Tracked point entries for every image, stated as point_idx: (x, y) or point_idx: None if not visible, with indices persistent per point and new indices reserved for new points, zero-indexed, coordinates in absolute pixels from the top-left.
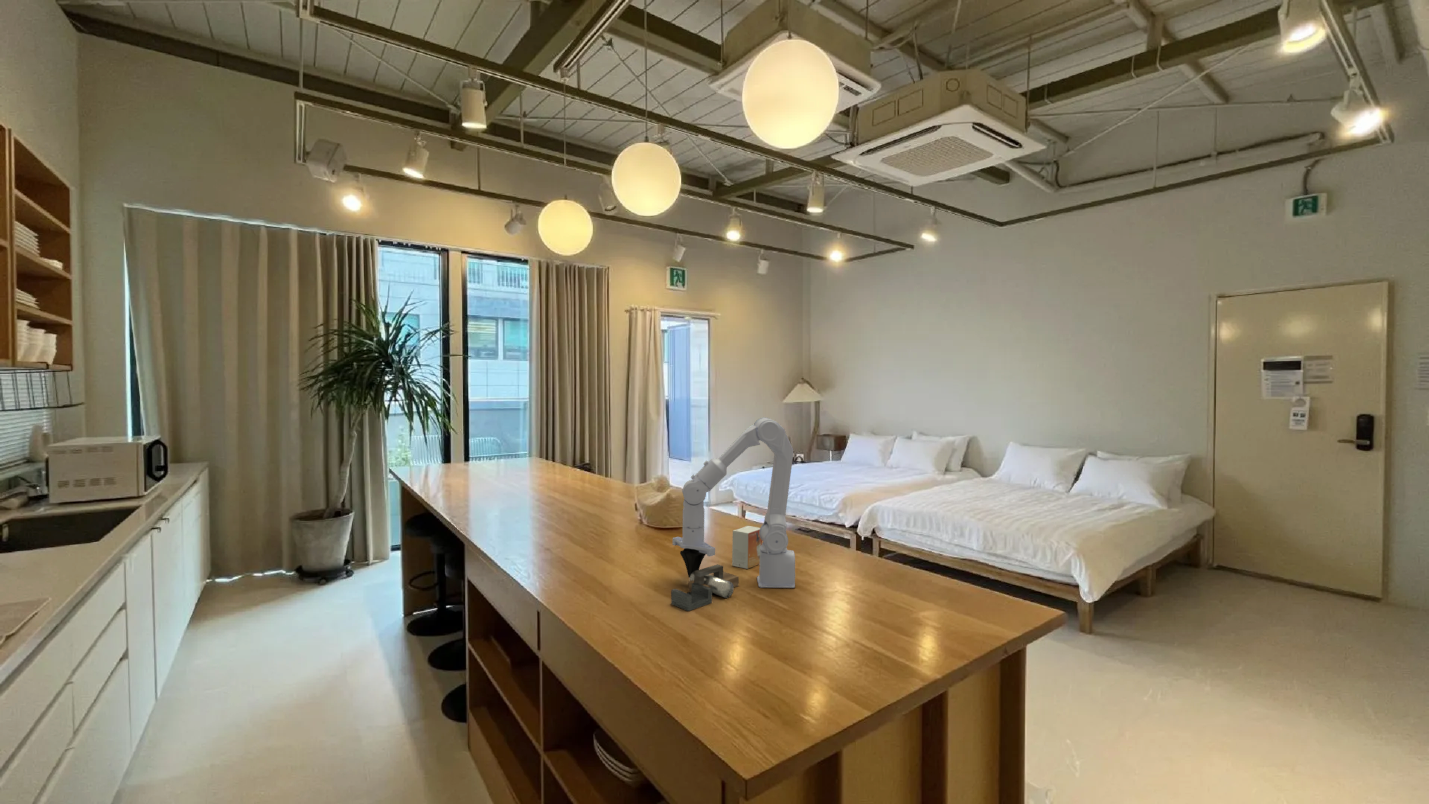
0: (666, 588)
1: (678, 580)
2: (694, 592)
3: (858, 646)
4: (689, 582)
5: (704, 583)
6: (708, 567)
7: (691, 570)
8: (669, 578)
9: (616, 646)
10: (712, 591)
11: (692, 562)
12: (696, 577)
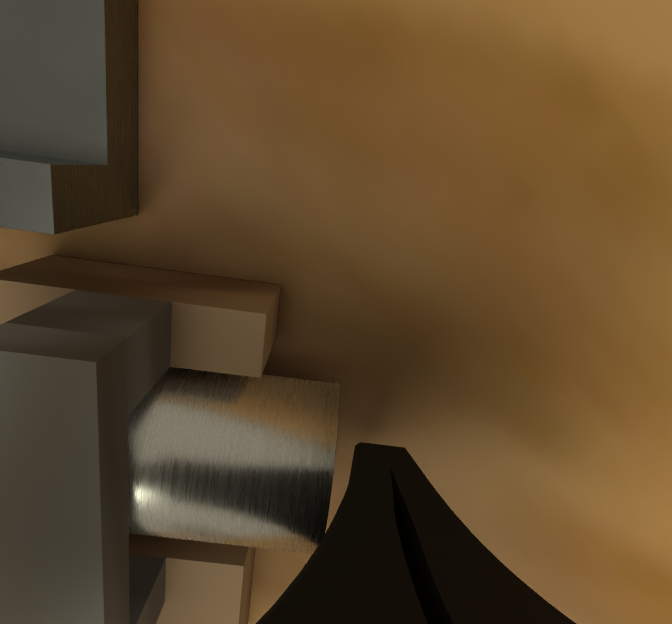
0: (507, 201)
1: (538, 433)
2: (54, 157)
3: None
4: (259, 310)
5: None
6: (87, 604)
7: (347, 488)
8: (641, 423)
9: None
10: None
11: (300, 572)
12: (92, 325)
